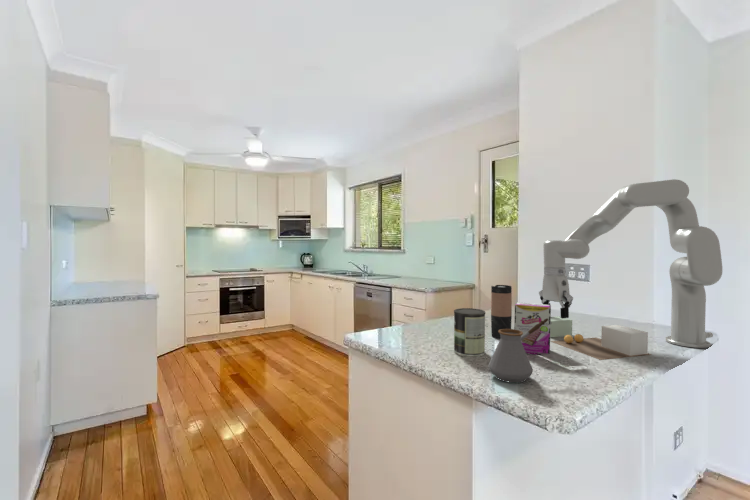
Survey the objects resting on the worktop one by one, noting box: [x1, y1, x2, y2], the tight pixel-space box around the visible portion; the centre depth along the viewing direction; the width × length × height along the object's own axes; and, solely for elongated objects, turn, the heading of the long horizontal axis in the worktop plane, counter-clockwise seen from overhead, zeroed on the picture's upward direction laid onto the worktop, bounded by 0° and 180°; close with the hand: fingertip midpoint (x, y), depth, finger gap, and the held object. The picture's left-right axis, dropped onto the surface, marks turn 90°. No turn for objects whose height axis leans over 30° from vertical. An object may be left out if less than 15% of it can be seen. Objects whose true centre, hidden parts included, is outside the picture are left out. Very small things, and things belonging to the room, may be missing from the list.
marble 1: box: [563, 335, 574, 343], centre depth 133 cm, size 3×3×3 cm
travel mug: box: [490, 284, 513, 340], centre depth 146 cm, size 8×8×20 cm
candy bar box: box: [513, 301, 552, 357], centre depth 125 cm, size 11×5×16 cm, turn 65°
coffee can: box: [453, 307, 486, 358], centre depth 126 cm, size 10×10×14 cm
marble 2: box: [573, 333, 585, 343], centre depth 134 cm, size 3×3×3 cm
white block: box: [600, 324, 649, 356], centre depth 125 cm, size 11×7×7 cm, turn 15°
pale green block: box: [550, 315, 573, 338], centre depth 146 cm, size 11×7×7 cm, turn 104°
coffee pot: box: [488, 318, 552, 383], centre depth 105 cm, size 21×12×15 cm, turn 117°
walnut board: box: [550, 337, 653, 361], centre depth 128 cm, size 20×22×1 cm
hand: (555, 315), depth 146 cm, fingers open, 9 cm apart
